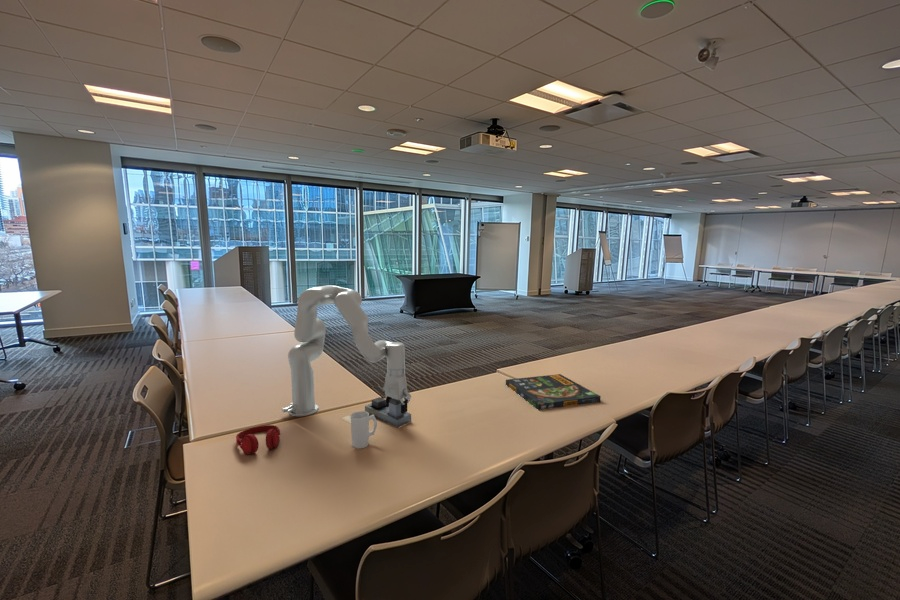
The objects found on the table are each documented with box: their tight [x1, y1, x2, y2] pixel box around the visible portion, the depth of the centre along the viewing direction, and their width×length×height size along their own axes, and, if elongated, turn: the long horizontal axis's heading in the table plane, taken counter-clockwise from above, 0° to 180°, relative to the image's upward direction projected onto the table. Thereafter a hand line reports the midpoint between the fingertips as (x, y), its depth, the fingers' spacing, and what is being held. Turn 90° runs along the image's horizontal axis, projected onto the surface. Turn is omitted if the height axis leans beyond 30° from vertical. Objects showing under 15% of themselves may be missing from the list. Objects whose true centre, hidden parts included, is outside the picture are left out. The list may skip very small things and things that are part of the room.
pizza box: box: [505, 373, 601, 411], centre depth 200 cm, size 35×35×4 cm
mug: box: [350, 410, 378, 450], centre depth 145 cm, size 10×7×12 cm, turn 119°
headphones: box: [235, 424, 281, 455], centre depth 145 cm, size 15×7×20 cm
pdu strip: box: [364, 397, 412, 429], centre depth 168 cm, size 8×22×6 cm, turn 50°
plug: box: [389, 398, 404, 418], centre depth 164 cm, size 4×4×9 cm
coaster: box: [340, 414, 351, 425], centre depth 167 cm, size 10×10×1 cm
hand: (396, 409), depth 164 cm, fingers open, 9 cm apart
